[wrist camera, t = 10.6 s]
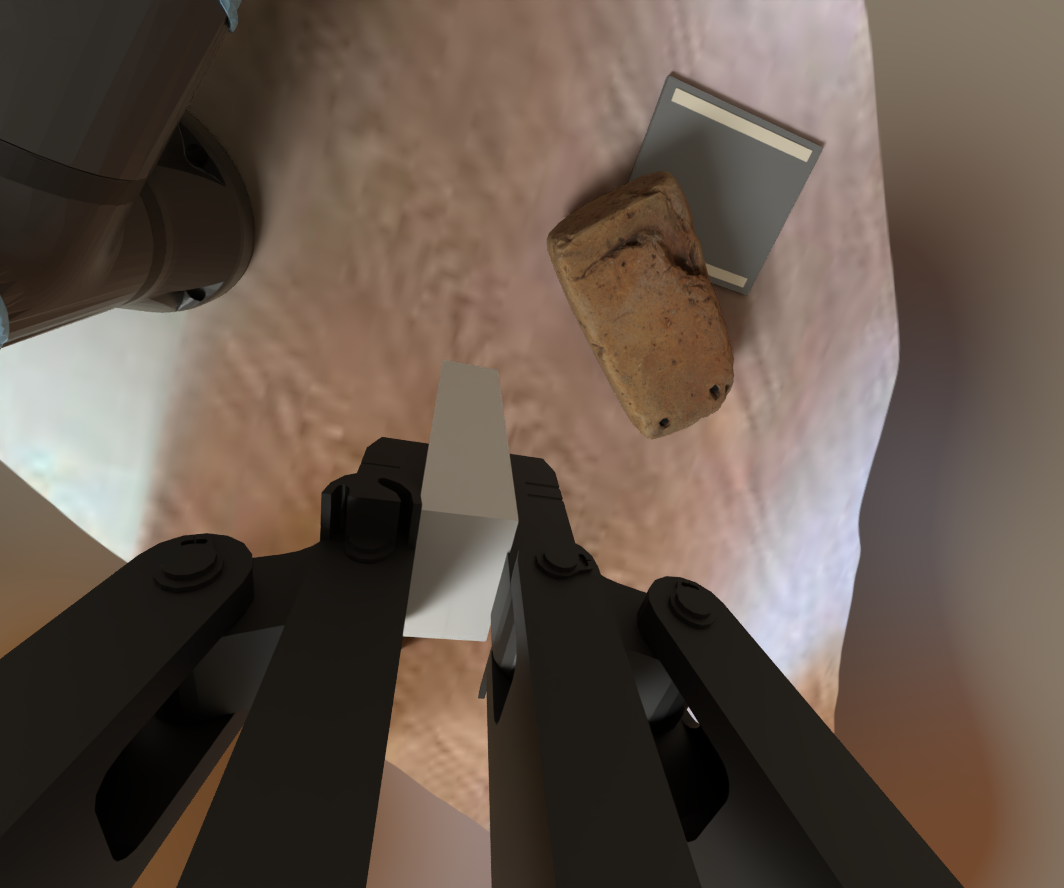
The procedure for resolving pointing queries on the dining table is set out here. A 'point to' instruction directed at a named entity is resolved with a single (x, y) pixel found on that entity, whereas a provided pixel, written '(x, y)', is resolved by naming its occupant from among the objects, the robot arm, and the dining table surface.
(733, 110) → the mat
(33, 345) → the dining table surface
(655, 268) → the brown lumpy pitted part
